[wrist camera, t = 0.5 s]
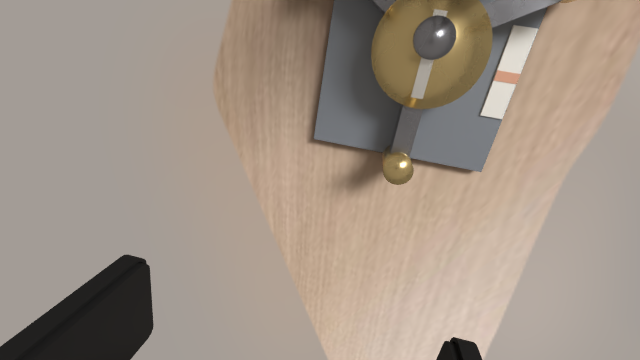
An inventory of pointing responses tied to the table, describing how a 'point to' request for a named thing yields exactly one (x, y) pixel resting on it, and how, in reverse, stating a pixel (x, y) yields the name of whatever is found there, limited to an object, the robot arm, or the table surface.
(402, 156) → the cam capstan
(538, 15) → the board
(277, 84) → the table surface
